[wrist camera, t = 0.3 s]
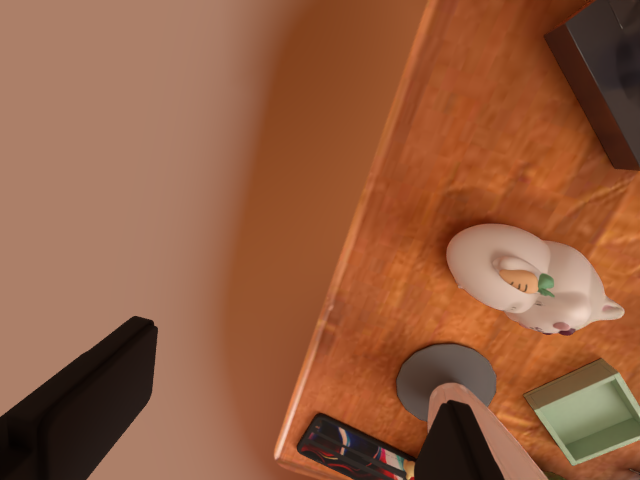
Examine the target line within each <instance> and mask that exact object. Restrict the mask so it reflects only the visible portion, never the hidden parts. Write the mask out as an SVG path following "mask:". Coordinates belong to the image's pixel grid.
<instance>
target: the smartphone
mask: <svg viewBox="0 0 640 480" xmlns="http://www.w3.org/2000/svg"><path fill="white" fill-rule="evenodd" d="M297 451H298V452H299V453H300V454H302V455H304V456H306V457H308V458H310V459H312V460H314V461H316V462H318V463H321V464H323V465H325V466H327V467H329V468H331V469H333V470H335V471H337V472H340V473H342V474H344V475H346V476H348V477H350V478H352V479H354V480H407V479H406V475H407V473H406V471H405V470H404V468H403V463H404V460H405V459H406V460H407V461H408V462H409V461H413V462H415V463H416V460H417V459H416V458H414V457H412V456H410V455H408V454H405V453H403V452H401V451H399V450H397V449H395V448H393V447H391V446H389V445H387V444H385V443H383V442H380V441H378V440H376V439H374V438H372V437H370V436H368V435H366V434H364V433H362V432H360V431H357V430H355V429H353V428H351V427H349V426H347V425H345V424H343V423H341V422H339V421H337V420H335V419H332V418H330V417H328V416H326V415H324V414H318V415H316V416H315V418H314V419H313V421H312V422H311V424H310V426H309V427H308V429H307V431H306V432H305V434H304V435H303V437H302V439H301V440H300V442H299V443H298V445H297ZM409 480H410V479H409Z"/></svg>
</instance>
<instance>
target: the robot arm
mask: <svg viewBox="0 0 640 480" xmlns="http://www.w3.org/2000/svg"><path fill="white" fill-rule="evenodd" d="M157 334H158V328H157V327H156V326H154V322H153V321H152V320H149V319H145V318H142V317H138V316H134V317H132V318H130V319H129V320H128V321H126V322H125V323H124V324H122V325H121V326H120V327H118V328H117V329H116V330H115V331H113V332H112V333H111V334H109V335H108V336H107V337H106V338H104V339H103V340H102V341H100V342H99V343H98V344H97V345H95V346H94V347H93V348H91V349H90V350H89V351H87V352H85V353H83V354H82V355H80V356H79V357H78V358H76V359H75V360H74V361H73V362H71V363H70V364H69V365H67V366H66V367H65V368H63V369H62V370H61V371H59V372H58V373H57V374H56V375H54V376H53V377H52V378H51V379H49V380H48V381H46V382H45V383H44V384H43V385H41V386H40V387H39V388H37V389H36V390H35V391H33V392H32V393H31V394H30V395H28V396H27V397H26V398H24V399H23V400H22V401H20V402H19V403H18V404H17V405H15V406H14V407H13V408H11V409H10V410H9V411H8V412H6V413H5V414H4V415H2V416H1V417H0V480H86V479H87V478H88V477H89V476H90V474H91V473H92V472H93V471H94V469H95V468H96V467H97V466H98V464H99V463H100V462H101V460H102V459H103V458H104V457H105V455H106V454H107V453H108V452H109V451H110V449H111V448H112V447H113V446H114V444H115V443H116V442H117V440H118V439H119V438H120V437H121V436H122V434H123V433H124V432H125V431H126V429H127V428H128V427H129V426H130V424H131V423H132V422H133V421H134V419H135V418H136V417H137V415H138V414H139V413H140V412H141V411H142V409H143V408H144V407H145V406H146V404H147V403H148V401H149V399H150V396H151V393H152V386H153V376H154V365H155V355H156V344H157ZM414 480H505V479H504V477H503V474H502V472H501V470H500V468H499V466H498V464H497V463H496V462H495V459H494V457H493V455H492V453H491V451H490V448H489V446H488V444H487V442H486V440H485V437H484V435H483V433H482V431H481V428H480V426H479V424H478V422H477V420H476V417H475V415H474V413H473V411H472V409H471V407H470V405H468V404H466V403H462V402H458V401H454V400H448V401H447V403H442V404H441V405H440V407H439V410H438V412H437V414H436V417H435V419H434V421H433V424H432V426H431V428H430V430H429V433H428V435H427V437H426V440H425V442H424V444H423V447H422V449H421V451H420V453H419V456H418V458H417V460H416V463H415V466H414Z"/></svg>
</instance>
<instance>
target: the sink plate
mask: <svg viewBox="0 0 640 480" xmlns="http://www.w3.org/2000/svg"><path fill="white" fill-rule="evenodd" d="M544 38H545V40H546V42H547V43H548V45H549V47H550V49H551V51H552V53H553V55H554V56H555V58H556V60H557V62H558V64H559V66H560V68H561V69H562V71H563V73H564V75H565V77H566V79H567V81H568V82H569V84H570V86H571V88H572V90H573V92H574V94H575V95H576V97H577V99H578V101H579V103H580V105H581V107H582V108H583V110H584V112H585V114H586V116H587V118H588V120H589V121H590V123H591V125H592V127H593V129H594V131H595V133H596V134H597V136H598V138H599V140H600V142H601V144H602V146H603V148H604V149H605V151H606V153H607V155H608V157H609V159H610V161H611V162H612V164H613V166H614V168H615V169H624V170H636V171H640V0H591V1H590V2H588V3H587V4H586V5H584V6H583V7H581V8H580V9H579V10H577V11H576V12H575V13H573V14H572V15H571V16H569V17H568V18H567V19H565V20H564V21H562V22H561V23H560V24H558V25H557V26H556V27H554V28H553V29H552V30H550V31H549V32H547V33H546V34H545V35H544Z"/></svg>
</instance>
